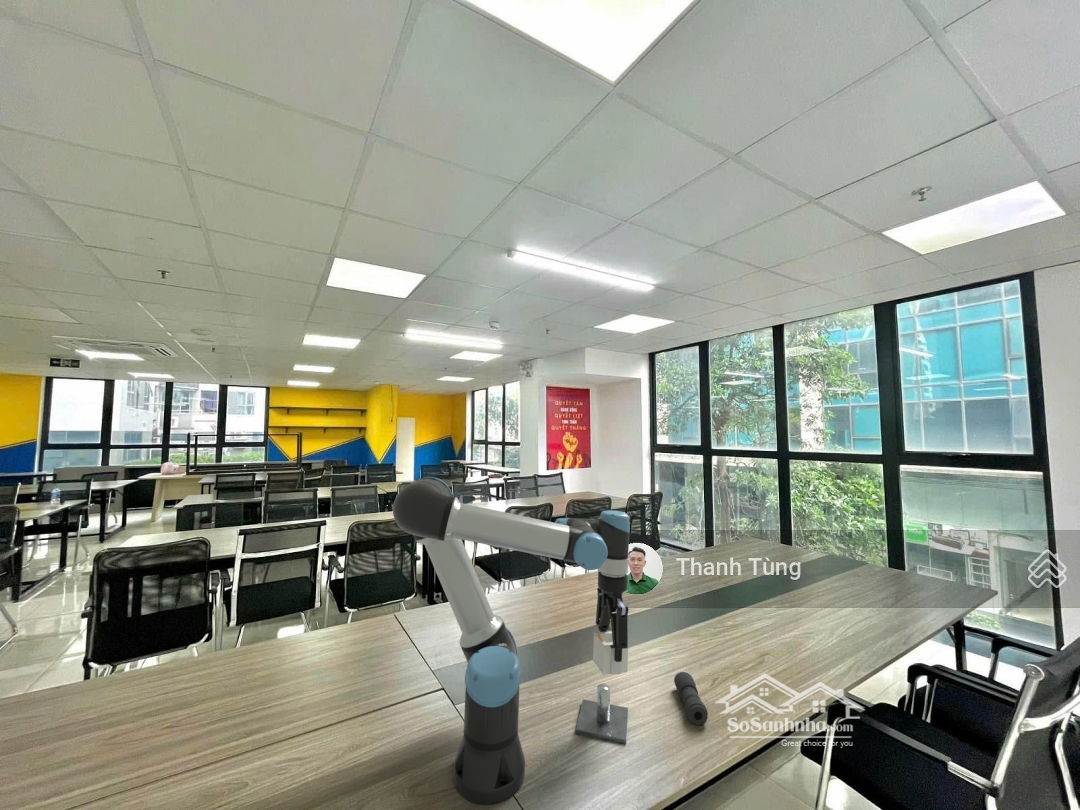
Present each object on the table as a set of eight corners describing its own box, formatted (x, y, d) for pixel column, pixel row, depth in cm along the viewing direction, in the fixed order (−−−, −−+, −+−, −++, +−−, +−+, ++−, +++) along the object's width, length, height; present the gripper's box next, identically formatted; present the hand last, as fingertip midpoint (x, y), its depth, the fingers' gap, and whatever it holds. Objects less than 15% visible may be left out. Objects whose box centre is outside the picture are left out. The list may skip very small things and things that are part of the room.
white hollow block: (627, 672, 104) (628, 641, 104) (603, 674, 102) (604, 644, 103) (615, 658, 110) (616, 629, 111) (593, 660, 108) (594, 631, 109)
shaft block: (626, 744, 99) (626, 706, 99) (575, 733, 102) (576, 697, 102) (627, 711, 110) (628, 678, 111) (582, 703, 113) (583, 670, 114)
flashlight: (709, 728, 105) (709, 706, 106) (687, 726, 106) (687, 704, 106) (693, 691, 121) (693, 671, 121) (673, 689, 121) (674, 670, 121)
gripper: (645, 585, 99) (641, 686, 98) (610, 560, 118) (607, 644, 116) (616, 587, 97) (612, 689, 96) (585, 561, 116) (582, 646, 115)
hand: (609, 664), depth 106 cm, fingers closed on white hollow block, 6 cm apart
